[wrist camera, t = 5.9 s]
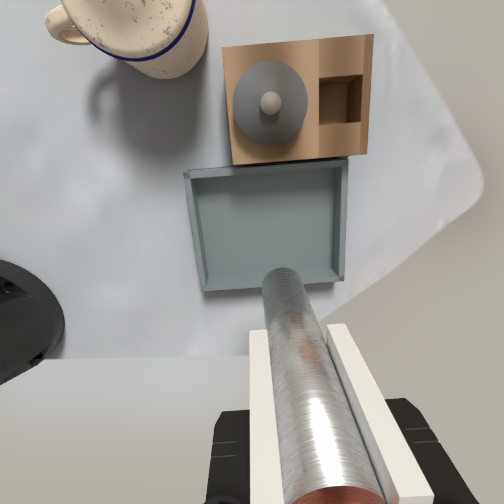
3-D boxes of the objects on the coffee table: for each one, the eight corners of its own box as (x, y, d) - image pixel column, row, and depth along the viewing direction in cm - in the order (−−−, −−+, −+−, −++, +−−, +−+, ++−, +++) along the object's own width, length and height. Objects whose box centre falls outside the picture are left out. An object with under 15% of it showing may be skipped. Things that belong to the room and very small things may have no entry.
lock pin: (263, 304, 20) (292, 636, 7) (260, 269, 19) (289, 570, 6) (302, 302, 20) (411, 629, 6) (302, 265, 19) (427, 562, 6)
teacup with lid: (191, -53, 25) (149, -199, 14) (224, 66, 28) (208, 20, 18) (63, -7, 26) (-68, -110, 15) (108, 103, 29) (25, 82, 19)
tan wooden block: (235, 161, 31) (231, 167, 25) (226, 62, 28) (218, 38, 21) (349, 151, 31) (377, 155, 24) (352, 51, 28) (386, 23, 21)
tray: (205, 279, 36) (201, 291, 33) (188, 169, 32) (183, 172, 29) (336, 270, 36) (344, 281, 33) (339, 157, 31) (348, 159, 29)
